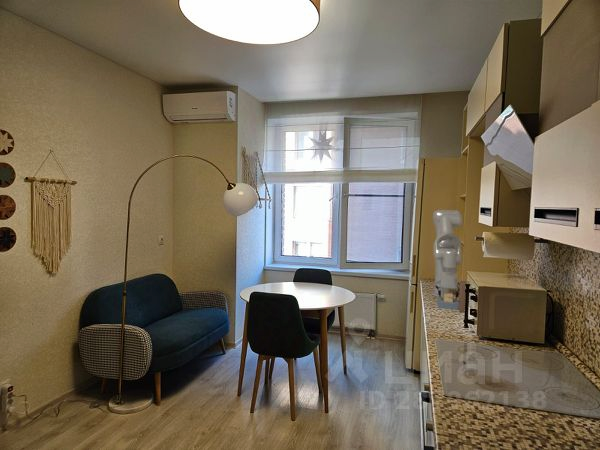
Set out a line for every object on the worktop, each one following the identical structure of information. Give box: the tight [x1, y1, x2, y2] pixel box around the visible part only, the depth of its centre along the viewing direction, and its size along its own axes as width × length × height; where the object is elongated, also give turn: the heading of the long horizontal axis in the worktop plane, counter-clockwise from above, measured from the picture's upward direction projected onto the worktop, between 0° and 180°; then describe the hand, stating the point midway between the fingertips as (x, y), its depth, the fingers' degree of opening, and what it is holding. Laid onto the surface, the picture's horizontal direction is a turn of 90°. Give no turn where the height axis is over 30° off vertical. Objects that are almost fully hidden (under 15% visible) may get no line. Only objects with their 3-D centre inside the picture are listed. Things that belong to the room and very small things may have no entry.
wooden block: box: [458, 280, 468, 313], centre depth 218 cm, size 9×4×18 cm, turn 75°
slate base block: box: [436, 297, 459, 311], centre depth 230 cm, size 12×12×4 cm
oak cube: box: [443, 291, 454, 303], centre depth 229 cm, size 5×5×5 cm
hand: (448, 297), depth 229 cm, fingers open, 9 cm apart
